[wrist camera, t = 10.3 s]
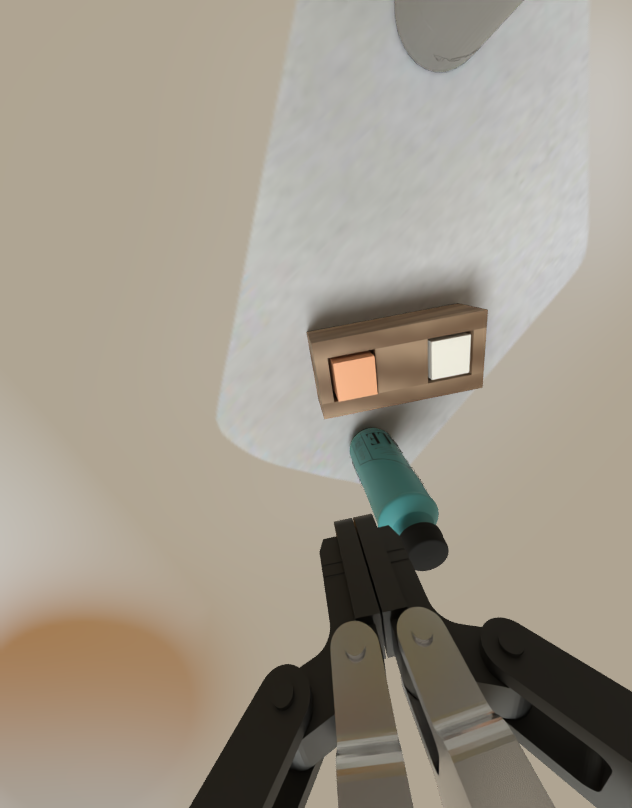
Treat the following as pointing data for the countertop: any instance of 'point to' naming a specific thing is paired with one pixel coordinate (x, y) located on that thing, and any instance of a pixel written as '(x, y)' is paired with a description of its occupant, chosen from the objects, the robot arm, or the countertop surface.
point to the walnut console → (399, 356)
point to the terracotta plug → (353, 375)
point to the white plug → (448, 355)
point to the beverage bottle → (398, 497)
